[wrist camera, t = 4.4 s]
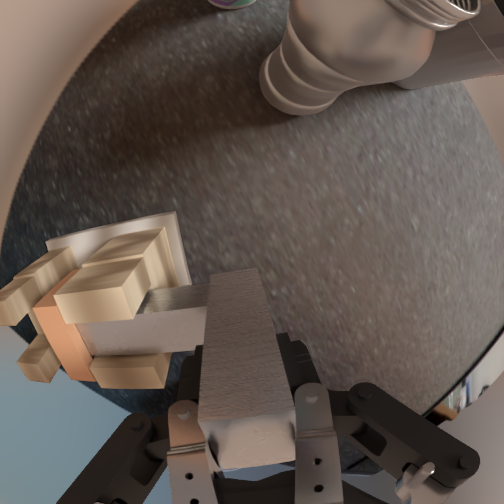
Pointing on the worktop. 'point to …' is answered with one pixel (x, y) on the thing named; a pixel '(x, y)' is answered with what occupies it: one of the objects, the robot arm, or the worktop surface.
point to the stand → (100, 293)
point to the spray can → (231, 3)
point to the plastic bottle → (352, 47)
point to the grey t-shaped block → (217, 361)
